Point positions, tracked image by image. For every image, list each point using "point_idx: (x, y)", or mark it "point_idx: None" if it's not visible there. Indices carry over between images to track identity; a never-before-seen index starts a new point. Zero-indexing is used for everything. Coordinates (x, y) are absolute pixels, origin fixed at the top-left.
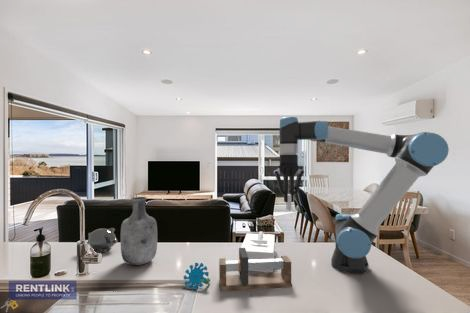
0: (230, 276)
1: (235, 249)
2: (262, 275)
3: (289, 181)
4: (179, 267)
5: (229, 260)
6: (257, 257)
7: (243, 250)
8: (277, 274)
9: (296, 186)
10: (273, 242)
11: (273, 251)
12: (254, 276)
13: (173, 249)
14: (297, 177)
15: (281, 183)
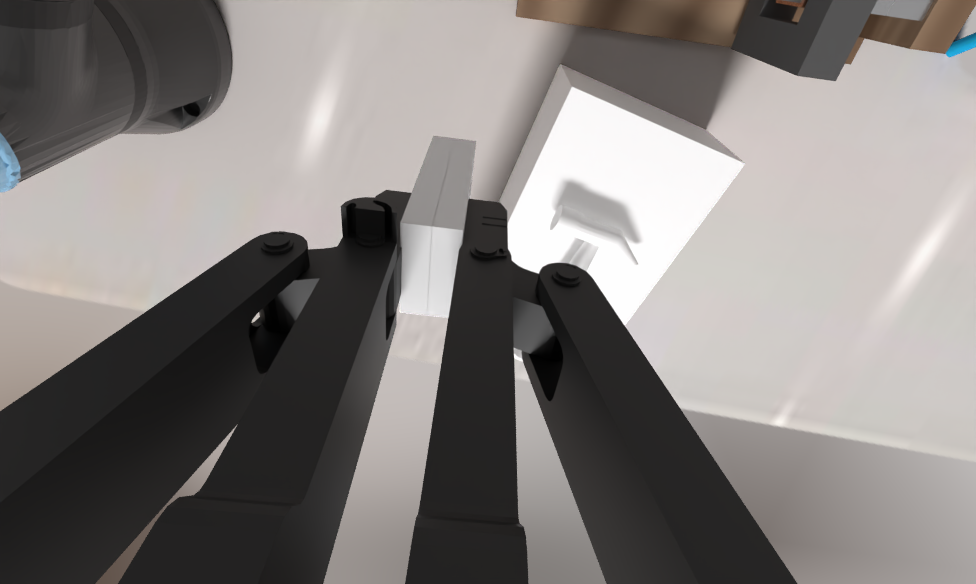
0: None
1: None
2: (646, 11)
3: (346, 498)
4: (944, 217)
5: (899, 15)
6: (648, 114)
7: (839, 21)
8: (564, 3)
9: (234, 310)
10: None
11: (562, 107)
12: (692, 8)
13: (865, 382)
14: (49, 562)
15: (615, 405)
